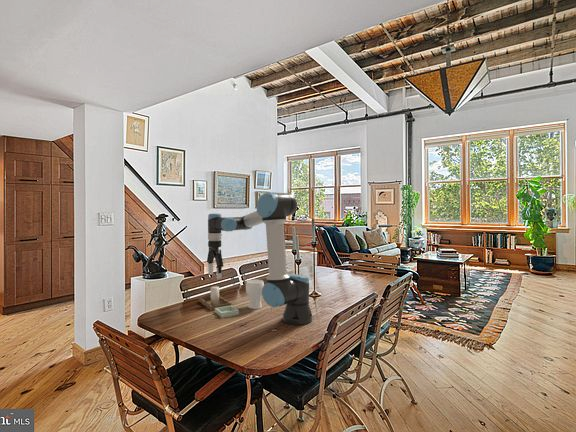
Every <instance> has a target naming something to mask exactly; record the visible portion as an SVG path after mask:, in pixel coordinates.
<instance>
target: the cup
mask: <svg viewBox="0 0 576 432" xmlns="http://www.w3.org/2000/svg"><path fill="white" fill-rule="evenodd" d="M264 285H265V283H264V280H261V279H249V280H246V283H245V292H246V295H247V296H248V308H249V309H252V310H259V309H261V308H263V307H262V306H263V305H262V298H263V296H262V288H263V286H264Z"/></svg>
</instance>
